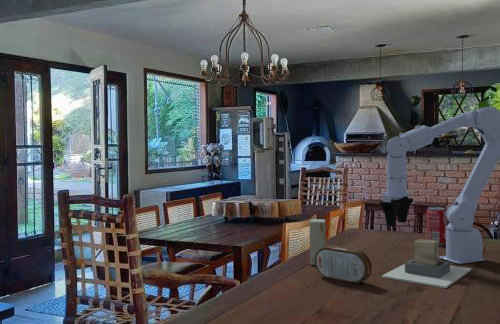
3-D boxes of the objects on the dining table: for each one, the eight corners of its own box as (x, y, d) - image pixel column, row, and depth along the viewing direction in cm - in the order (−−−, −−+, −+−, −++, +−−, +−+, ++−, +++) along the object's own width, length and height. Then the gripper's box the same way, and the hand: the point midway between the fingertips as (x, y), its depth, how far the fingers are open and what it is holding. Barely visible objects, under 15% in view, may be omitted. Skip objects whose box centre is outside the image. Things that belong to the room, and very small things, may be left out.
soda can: (424, 244, 166) (424, 208, 166) (428, 241, 172) (428, 206, 171) (444, 246, 163) (444, 209, 163) (448, 243, 169) (448, 207, 168)
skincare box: (325, 266, 142) (324, 222, 141) (309, 265, 143) (309, 222, 142) (326, 260, 148) (326, 218, 147) (311, 260, 149) (311, 218, 148)
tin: (372, 284, 124) (372, 249, 123) (366, 287, 121) (366, 252, 121) (319, 274, 133) (319, 242, 133) (313, 277, 131) (312, 244, 131)
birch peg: (419, 268, 135) (419, 239, 135) (438, 271, 132) (438, 241, 131) (414, 271, 132) (414, 241, 132) (433, 274, 129) (433, 243, 129)
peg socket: (412, 261, 145) (412, 251, 144) (471, 270, 134) (471, 259, 134) (381, 277, 129) (381, 265, 129) (445, 288, 119) (445, 275, 119)
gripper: (393, 175, 157) (394, 219, 158) (372, 179, 146) (373, 226, 146) (416, 176, 153) (416, 221, 153) (396, 180, 141) (396, 228, 142)
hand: (396, 224), depth 150 cm, fingers open, 7 cm apart
